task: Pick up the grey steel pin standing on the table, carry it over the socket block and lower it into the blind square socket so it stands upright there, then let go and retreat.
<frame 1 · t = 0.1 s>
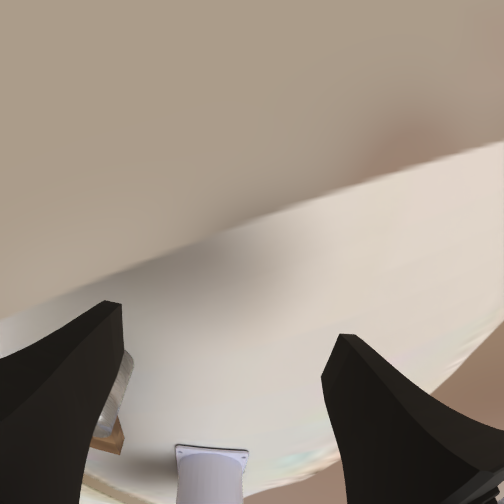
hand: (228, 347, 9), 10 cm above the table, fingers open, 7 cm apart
pin: (113, 359, 22), on the table
socket block: (74, 402, 24), on the table
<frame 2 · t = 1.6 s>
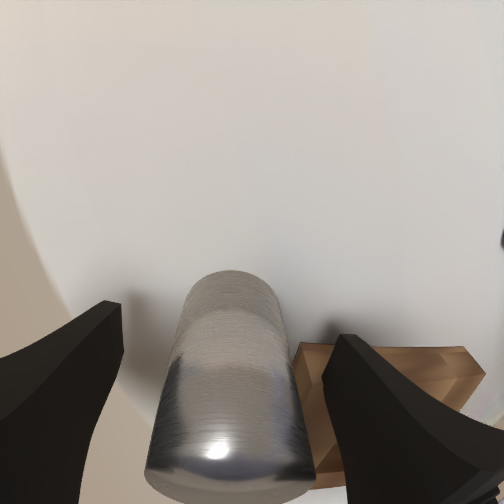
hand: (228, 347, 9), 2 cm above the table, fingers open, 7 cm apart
pin: (231, 313, 11), on the table
socket block: (358, 414, 14), on the table
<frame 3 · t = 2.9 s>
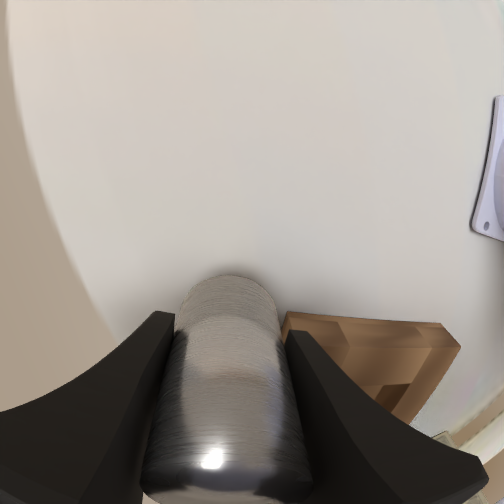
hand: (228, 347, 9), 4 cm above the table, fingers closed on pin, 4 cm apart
pin: (228, 318, 11), point 3 cm above the table, touching gripper
socket block: (344, 385, 17), on the table
skincare box: (419, 448, 22), on the table
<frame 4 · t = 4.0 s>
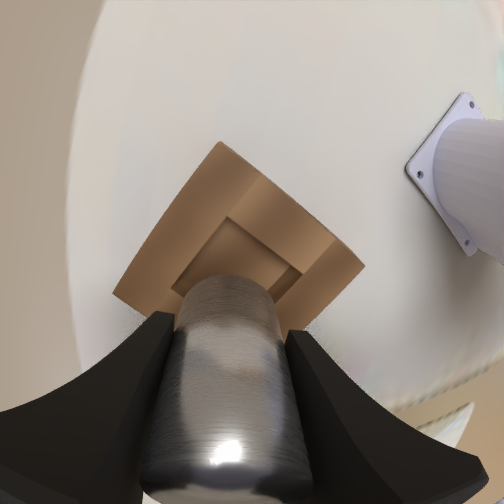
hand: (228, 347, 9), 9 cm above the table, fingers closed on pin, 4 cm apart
pin: (228, 317, 11), point 7 cm above the table, touching gripper
socket block: (235, 262, 18), on the table
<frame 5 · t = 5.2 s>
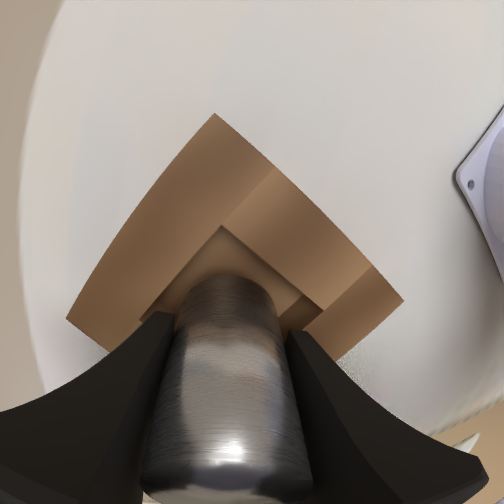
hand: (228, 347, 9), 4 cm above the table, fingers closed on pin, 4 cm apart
pin: (228, 318, 11), point 2 cm above the table, touching gripper
socket block: (230, 285, 13), on the table
when the fingers open (4 cm above the table, at t = 5.8 s): pin drops 1 cm, resting on socket block.
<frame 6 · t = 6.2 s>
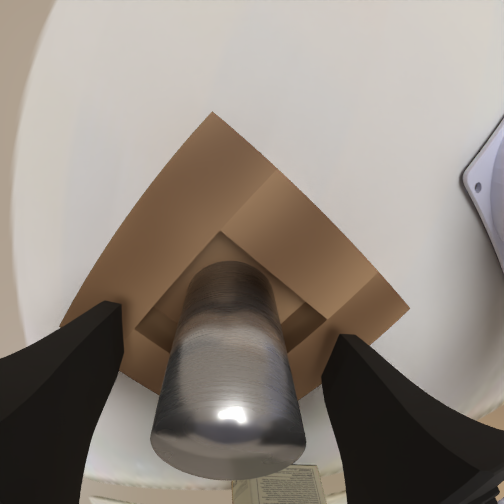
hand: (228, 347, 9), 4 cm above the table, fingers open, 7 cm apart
pin: (230, 301, 12), point 1 cm above the table, touching socket block
socket block: (229, 292, 13), on the table
skincare box: (275, 471, 20), on the table
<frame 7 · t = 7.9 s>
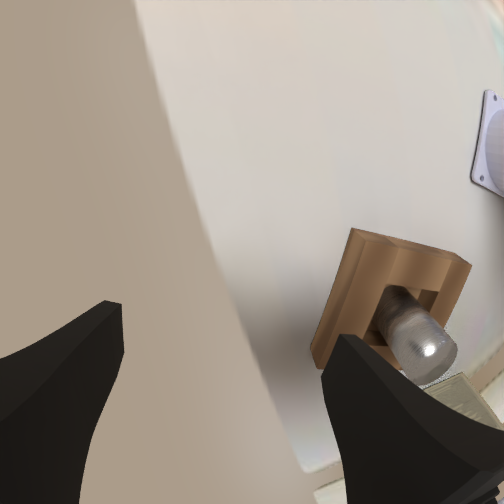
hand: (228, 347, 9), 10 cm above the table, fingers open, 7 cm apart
pin: (390, 305, 21), point 1 cm above the table, touching socket block
socket block: (387, 301, 22), on the table
skincare box: (439, 389, 27), on the table
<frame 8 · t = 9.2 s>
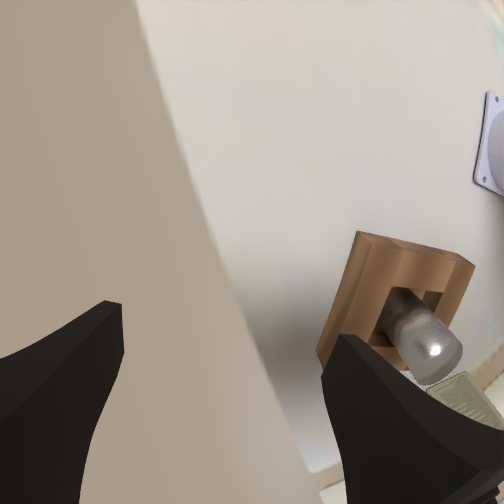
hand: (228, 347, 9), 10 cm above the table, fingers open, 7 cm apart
pin: (395, 306, 21), point 1 cm above the table, touching socket block
socket block: (392, 302, 22), on the table
skincare box: (443, 388, 27), on the table
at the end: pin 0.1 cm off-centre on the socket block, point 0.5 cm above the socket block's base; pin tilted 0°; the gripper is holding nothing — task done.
